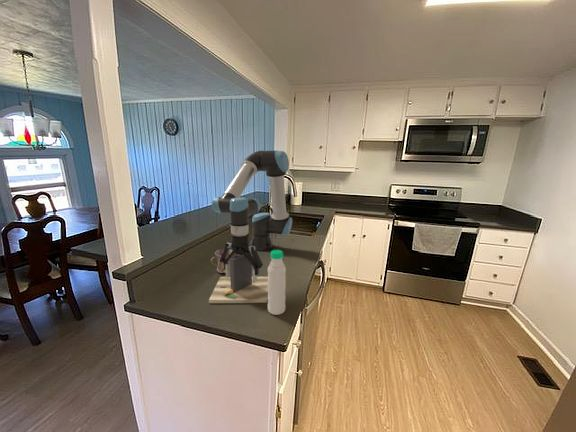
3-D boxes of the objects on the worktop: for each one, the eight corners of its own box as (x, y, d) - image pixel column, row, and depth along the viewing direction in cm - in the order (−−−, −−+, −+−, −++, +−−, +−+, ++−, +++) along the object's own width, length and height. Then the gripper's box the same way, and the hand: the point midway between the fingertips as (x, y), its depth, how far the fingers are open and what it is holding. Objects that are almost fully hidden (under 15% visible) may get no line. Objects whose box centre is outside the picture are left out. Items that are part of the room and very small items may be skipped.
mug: (228, 265, 134) (227, 247, 132) (237, 270, 128) (236, 252, 125) (207, 271, 126) (206, 253, 124) (216, 278, 120) (215, 258, 117)
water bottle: (285, 304, 98) (286, 247, 93) (285, 315, 92) (286, 254, 86) (268, 304, 98) (267, 247, 92) (267, 315, 91) (266, 254, 86)
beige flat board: (220, 279, 118) (220, 276, 118) (269, 279, 119) (268, 276, 119) (209, 303, 99) (208, 299, 98) (267, 302, 100) (267, 299, 99)
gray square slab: (223, 293, 102) (221, 261, 99) (248, 281, 113) (247, 251, 110) (226, 295, 101) (225, 263, 97) (251, 283, 111) (251, 253, 108)
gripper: (210, 233, 103) (212, 278, 108) (262, 239, 95) (263, 287, 100) (220, 228, 110) (222, 271, 115) (270, 234, 102) (270, 279, 107)
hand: (241, 279), depth 108 cm, fingers open, 13 cm apart
